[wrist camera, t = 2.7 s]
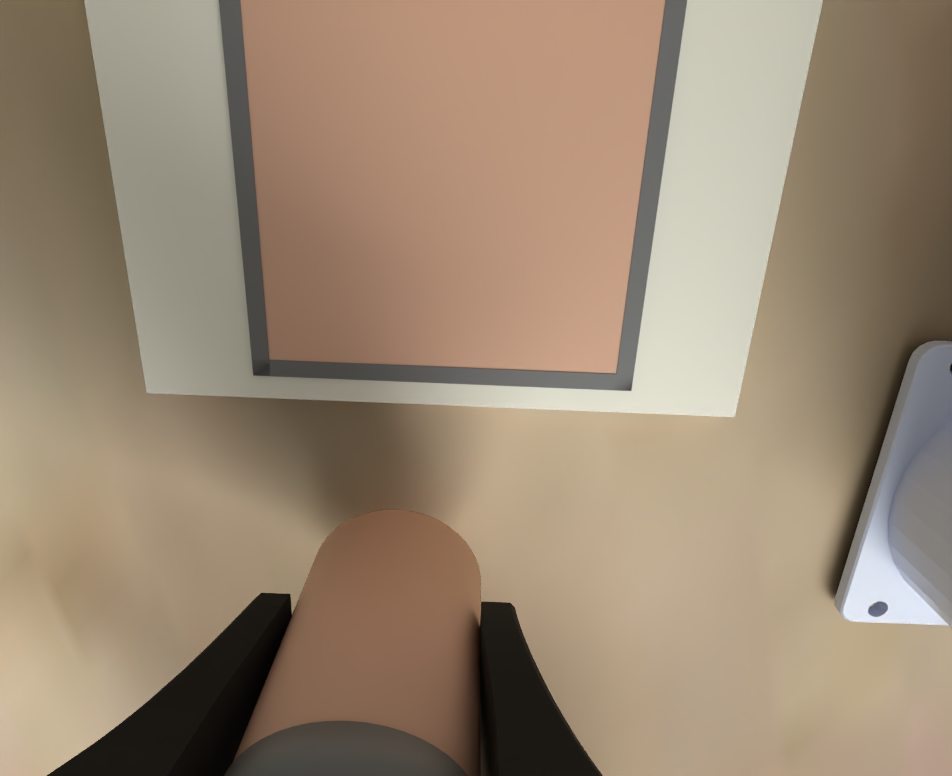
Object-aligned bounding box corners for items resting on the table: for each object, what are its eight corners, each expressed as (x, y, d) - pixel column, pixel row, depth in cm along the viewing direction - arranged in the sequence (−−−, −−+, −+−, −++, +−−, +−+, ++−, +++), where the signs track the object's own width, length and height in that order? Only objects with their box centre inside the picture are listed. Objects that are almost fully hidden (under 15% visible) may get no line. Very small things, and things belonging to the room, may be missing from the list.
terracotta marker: (487, 511, 14) (492, 827, 8) (478, 652, 16) (477, 1017, 9) (305, 504, 14) (152, 814, 7) (315, 645, 15) (194, 1007, 9)
